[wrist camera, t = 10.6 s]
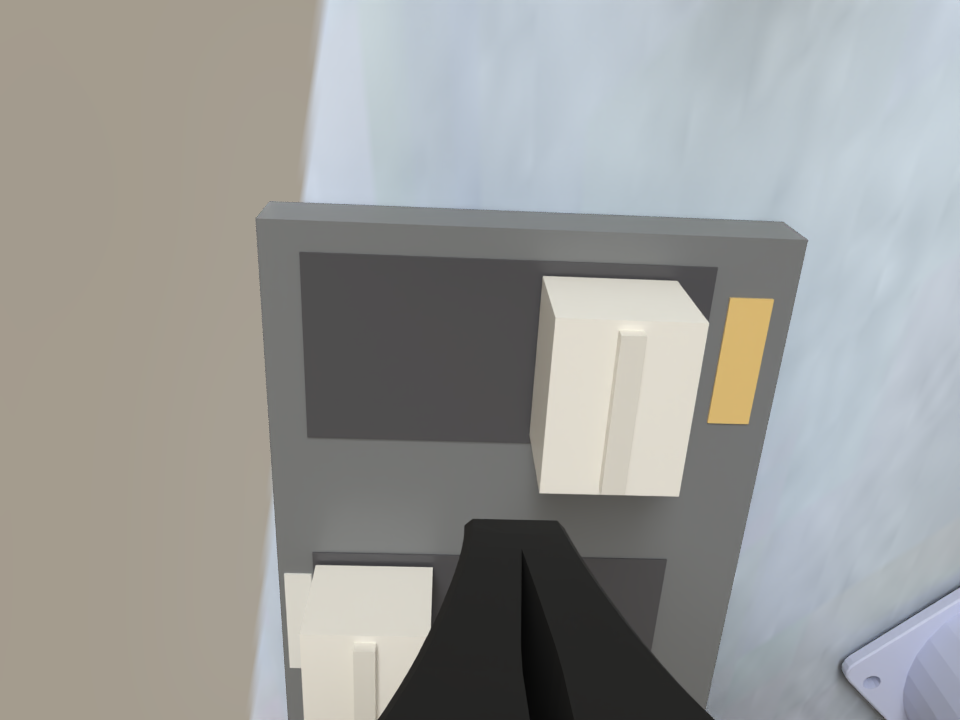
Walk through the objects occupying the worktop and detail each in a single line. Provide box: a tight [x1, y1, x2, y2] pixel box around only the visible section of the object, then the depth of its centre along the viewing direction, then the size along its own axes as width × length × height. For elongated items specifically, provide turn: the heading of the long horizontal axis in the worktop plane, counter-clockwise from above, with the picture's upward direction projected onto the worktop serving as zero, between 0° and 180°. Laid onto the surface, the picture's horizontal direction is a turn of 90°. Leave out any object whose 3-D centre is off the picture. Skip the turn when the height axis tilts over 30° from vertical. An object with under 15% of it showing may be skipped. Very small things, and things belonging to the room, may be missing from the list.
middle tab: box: [299, 565, 433, 720], centre depth 21 cm, size 4×3×3 cm
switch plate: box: [256, 201, 808, 720], centre depth 23 cm, size 22×12×2 cm, turn 177°
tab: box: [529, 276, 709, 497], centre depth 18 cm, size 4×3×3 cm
